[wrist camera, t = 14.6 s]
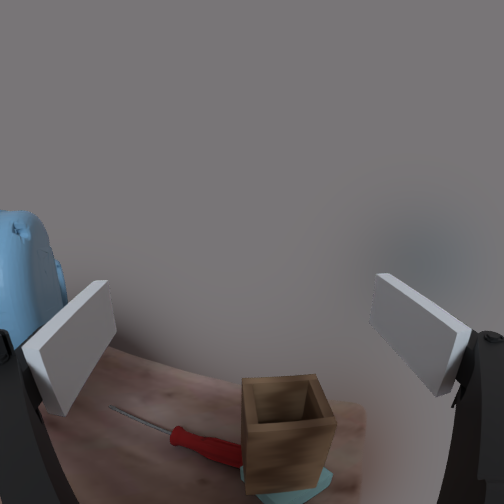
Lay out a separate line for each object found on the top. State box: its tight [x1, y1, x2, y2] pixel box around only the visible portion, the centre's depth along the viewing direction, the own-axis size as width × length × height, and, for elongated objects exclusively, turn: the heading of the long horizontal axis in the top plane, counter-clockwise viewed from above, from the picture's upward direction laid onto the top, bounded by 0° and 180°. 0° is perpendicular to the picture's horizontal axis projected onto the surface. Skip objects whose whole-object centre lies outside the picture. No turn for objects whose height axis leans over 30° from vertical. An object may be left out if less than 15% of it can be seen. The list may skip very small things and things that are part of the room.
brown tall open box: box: [241, 374, 337, 495], centre depth 28 cm, size 8×8×12 cm
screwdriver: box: [109, 405, 243, 468], centre depth 37 cm, size 4×25×4 cm, turn 70°
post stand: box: [240, 466, 333, 504], centre depth 29 cm, size 8×8×9 cm
